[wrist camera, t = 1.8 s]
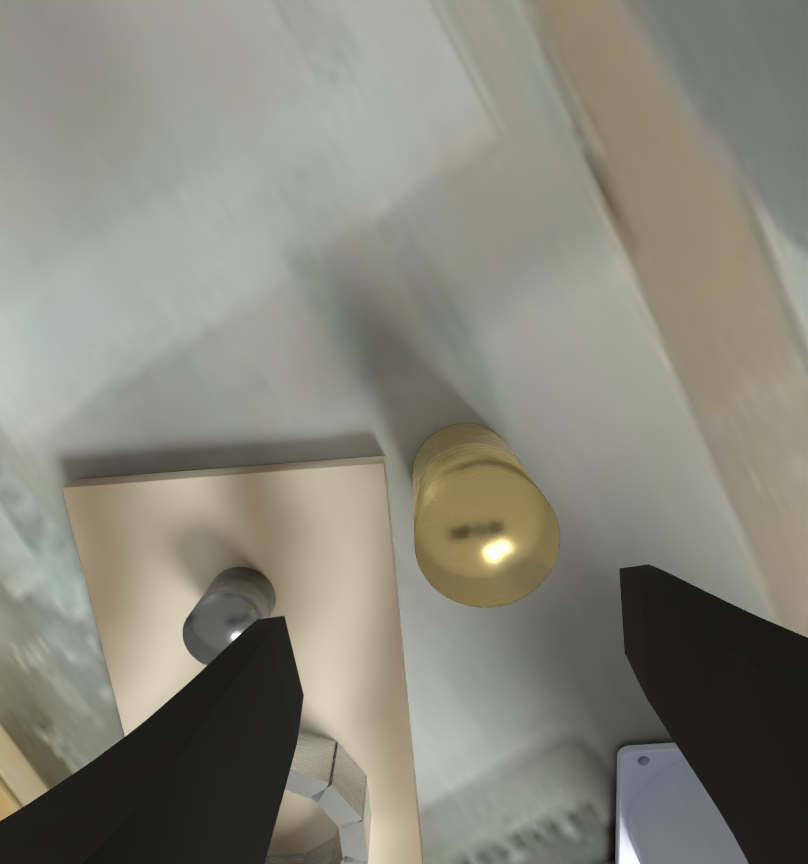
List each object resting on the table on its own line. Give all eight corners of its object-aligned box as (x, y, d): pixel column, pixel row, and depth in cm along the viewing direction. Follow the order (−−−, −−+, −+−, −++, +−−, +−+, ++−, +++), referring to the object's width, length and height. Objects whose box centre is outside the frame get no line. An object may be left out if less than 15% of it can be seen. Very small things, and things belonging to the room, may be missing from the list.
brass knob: (513, 419, 20) (559, 468, 14) (516, 517, 20) (560, 602, 15) (408, 428, 20) (409, 479, 14) (416, 525, 21) (420, 611, 15)
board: (384, 455, 20) (383, 463, 19) (423, 857, 25) (423, 880, 24) (78, 479, 20) (62, 487, 19) (174, 872, 25) (165, 895, 24)
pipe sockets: (340, 559, 20) (331, 594, 17) (377, 866, 23) (374, 930, 21) (135, 574, 20) (97, 611, 18) (204, 876, 24) (180, 941, 21)
